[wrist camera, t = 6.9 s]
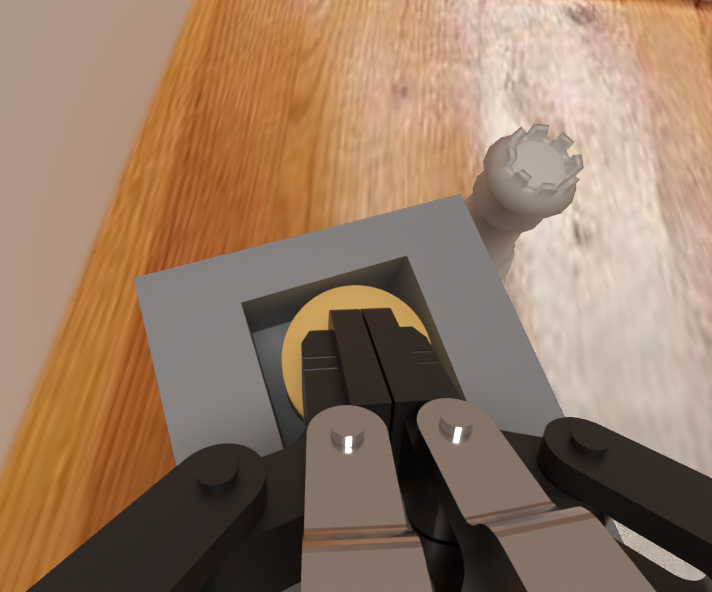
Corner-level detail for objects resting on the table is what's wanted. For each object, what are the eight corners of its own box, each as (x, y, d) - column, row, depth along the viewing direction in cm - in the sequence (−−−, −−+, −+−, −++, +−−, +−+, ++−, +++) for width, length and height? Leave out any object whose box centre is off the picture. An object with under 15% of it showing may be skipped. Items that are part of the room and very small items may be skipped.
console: (407, 273, 21) (460, 193, 14) (587, 716, 16) (791, 904, 9) (190, 337, 18) (134, 278, 12) (326, 874, 14) (357, 1264, 7)
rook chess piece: (394, 241, 21) (449, 128, 14) (466, 203, 22) (552, 81, 15) (447, 319, 20) (537, 244, 13) (518, 275, 22) (639, 183, 14)
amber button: (378, 305, 16) (401, 268, 12) (420, 414, 15) (456, 406, 11) (269, 339, 15) (262, 308, 12) (305, 457, 14) (309, 462, 11)
